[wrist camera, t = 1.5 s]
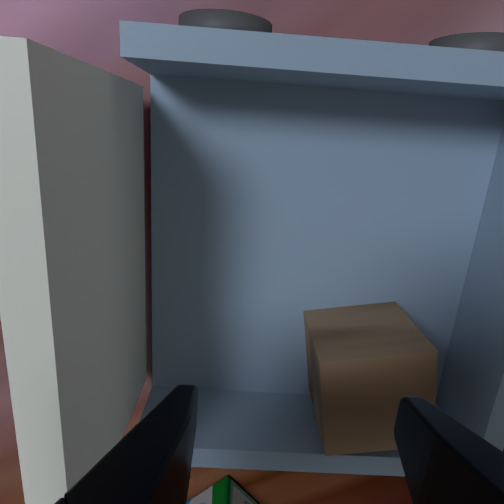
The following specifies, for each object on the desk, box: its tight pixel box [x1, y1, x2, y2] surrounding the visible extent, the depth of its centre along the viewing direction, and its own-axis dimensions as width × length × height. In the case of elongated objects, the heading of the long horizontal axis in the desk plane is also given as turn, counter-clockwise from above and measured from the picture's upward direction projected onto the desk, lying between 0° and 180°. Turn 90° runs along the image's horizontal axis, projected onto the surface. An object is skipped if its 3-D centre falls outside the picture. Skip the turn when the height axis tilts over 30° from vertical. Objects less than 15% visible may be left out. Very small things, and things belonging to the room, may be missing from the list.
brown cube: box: [303, 301, 438, 456], centre depth 18 cm, size 4×4×4 cm
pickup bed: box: [119, 9, 504, 476], centre depth 17 cm, size 19×16×6 cm
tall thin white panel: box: [0, 36, 146, 504], centre depth 14 cm, size 14×1×9 cm, turn 176°
